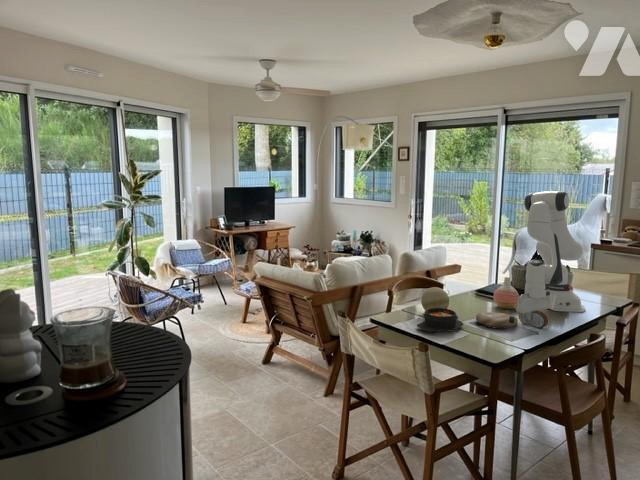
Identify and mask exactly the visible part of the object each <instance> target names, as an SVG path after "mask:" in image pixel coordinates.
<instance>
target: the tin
mask: <svg viewBox="0 0 640 480" xmlns="http://www.w3.org/2000/svg"><path fill="white" fill-rule="evenodd" d="M530 315H531V316H532V320H528V319H527V315H526V313H519V312H518V315H517V316H518V319H519V321H520V322H521V323H522V324H524V325H527V326H530V327H534V328H537V329H542V328H545V327H547V326H548V324H549V319H548V316H547V315H546V314H545V312H542V310H540V311H533V312H531V314H530Z"/></svg>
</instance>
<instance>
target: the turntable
mask: <svg viewBox="0 0 640 480" xmlns="http://www.w3.org/2000/svg"><path fill="white" fill-rule="evenodd" d="M475 321H477V322H478V323H480V324H482V325H484V326H486V325H488V326H494V327H508V328H510V327H511V328H512V327H515V326H517V324H518V318H517V317H515V316H514V315H511V314H509V313H503V312H494V311H485V312H480V313H477V314H476V316H475ZM488 326H487V327H488Z"/></svg>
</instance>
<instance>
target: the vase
mask: <svg viewBox="0 0 640 480" xmlns="http://www.w3.org/2000/svg"><path fill="white" fill-rule="evenodd" d="M503 279H504V280H503V285H500V286H498V288H496V289H495V291H494V293H493V301H494V303H495V305H497V306H498V308H500V309H502V310H512V309H513V308H516V307H517V302H518V299H519V297H520V295H519V293H518V291H517V290H516V288H514V287H513V286H512V285H511V277H509V276H506V277H505V276H504V278H503Z"/></svg>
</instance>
